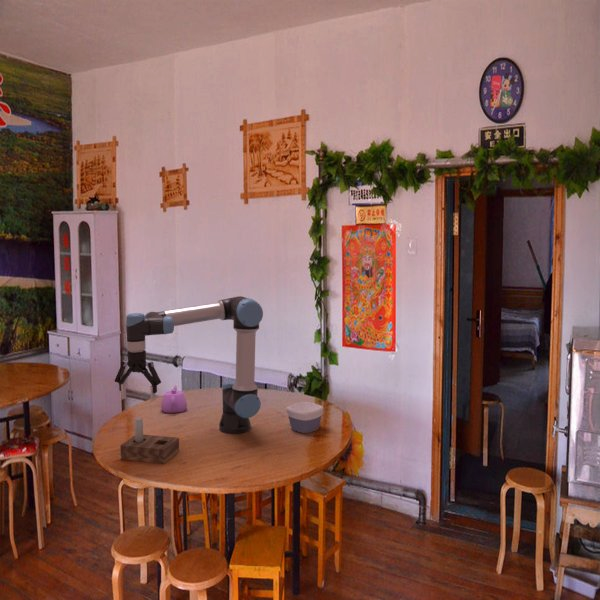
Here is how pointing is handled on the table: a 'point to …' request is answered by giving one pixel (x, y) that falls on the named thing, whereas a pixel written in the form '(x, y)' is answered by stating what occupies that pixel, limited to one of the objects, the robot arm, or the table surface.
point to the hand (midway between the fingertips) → (138, 399)
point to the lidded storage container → (304, 416)
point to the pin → (138, 430)
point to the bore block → (150, 449)
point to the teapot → (174, 401)
